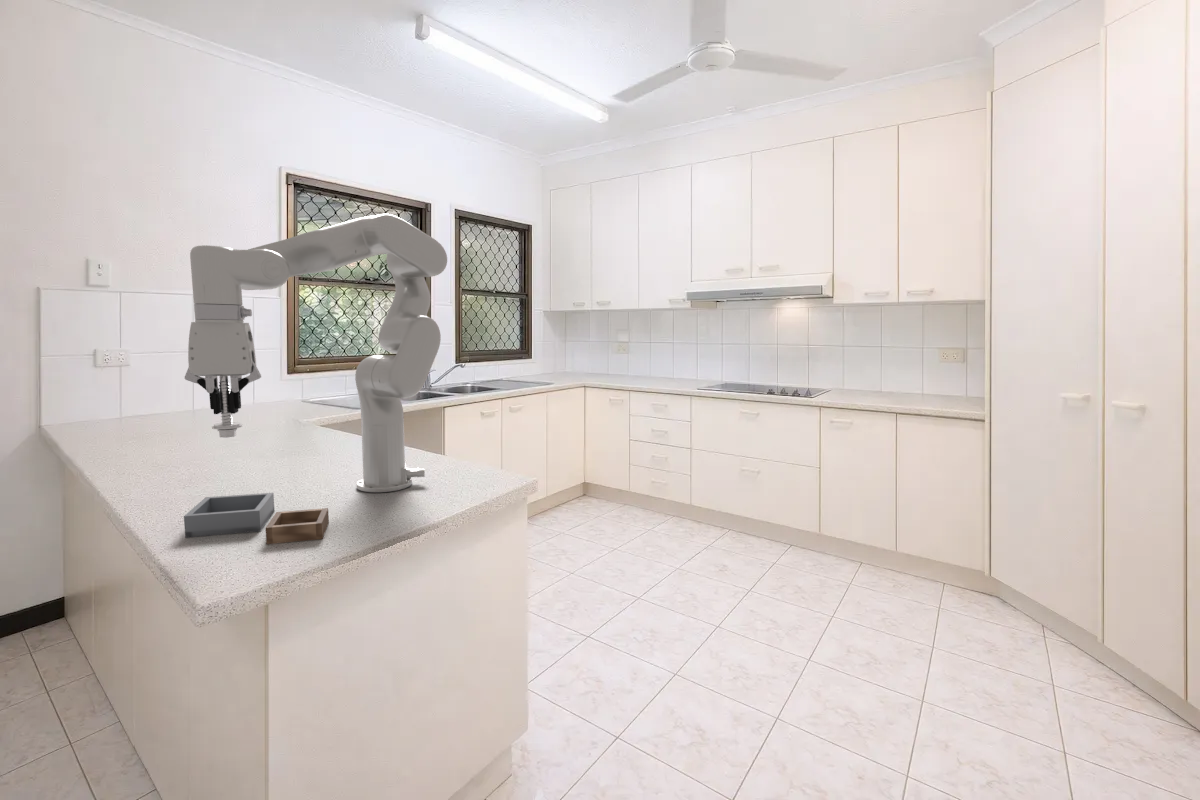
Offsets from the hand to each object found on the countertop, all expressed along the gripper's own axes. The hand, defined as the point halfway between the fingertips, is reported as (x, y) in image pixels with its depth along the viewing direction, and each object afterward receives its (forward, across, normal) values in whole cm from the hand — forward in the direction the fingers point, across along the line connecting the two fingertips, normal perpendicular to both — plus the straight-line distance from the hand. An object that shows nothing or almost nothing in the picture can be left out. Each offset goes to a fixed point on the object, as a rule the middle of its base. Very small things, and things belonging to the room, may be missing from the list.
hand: (226, 412), depth 108 cm
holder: (+22, -13, +9) cm, 27 cm away
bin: (+22, 0, 0) cm, 22 cm away
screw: (+5, 0, 0) cm, 5 cm away
